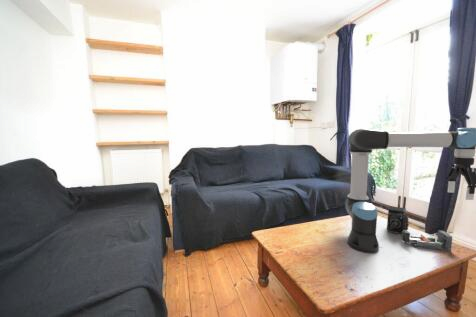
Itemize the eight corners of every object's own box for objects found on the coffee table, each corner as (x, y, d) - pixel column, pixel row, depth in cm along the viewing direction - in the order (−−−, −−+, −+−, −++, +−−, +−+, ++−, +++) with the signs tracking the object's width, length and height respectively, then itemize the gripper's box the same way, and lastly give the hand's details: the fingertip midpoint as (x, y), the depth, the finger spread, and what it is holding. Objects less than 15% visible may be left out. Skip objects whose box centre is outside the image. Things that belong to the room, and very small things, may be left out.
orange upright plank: (426, 246, 114) (427, 240, 114) (419, 240, 121) (419, 234, 120) (430, 246, 114) (430, 240, 113) (422, 240, 120) (423, 234, 120)
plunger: (404, 242, 118) (405, 232, 117) (401, 239, 122) (402, 229, 121) (422, 244, 116) (422, 234, 115) (418, 241, 119) (419, 231, 119)
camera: (407, 237, 127) (409, 213, 125) (386, 232, 133) (388, 209, 131) (407, 230, 135) (409, 208, 133) (387, 226, 141) (388, 204, 140)
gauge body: (414, 247, 116) (416, 233, 115) (408, 240, 122) (409, 227, 121) (450, 251, 111) (452, 236, 110) (442, 244, 118) (443, 230, 117)
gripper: (494, 160, 99) (488, 203, 101) (455, 154, 123) (451, 190, 125) (474, 159, 101) (468, 202, 103) (440, 154, 125) (436, 189, 127)
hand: (459, 195), depth 114 cm, fingers open, 13 cm apart
